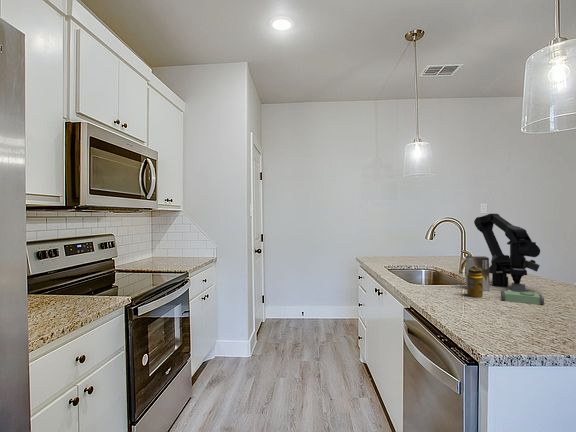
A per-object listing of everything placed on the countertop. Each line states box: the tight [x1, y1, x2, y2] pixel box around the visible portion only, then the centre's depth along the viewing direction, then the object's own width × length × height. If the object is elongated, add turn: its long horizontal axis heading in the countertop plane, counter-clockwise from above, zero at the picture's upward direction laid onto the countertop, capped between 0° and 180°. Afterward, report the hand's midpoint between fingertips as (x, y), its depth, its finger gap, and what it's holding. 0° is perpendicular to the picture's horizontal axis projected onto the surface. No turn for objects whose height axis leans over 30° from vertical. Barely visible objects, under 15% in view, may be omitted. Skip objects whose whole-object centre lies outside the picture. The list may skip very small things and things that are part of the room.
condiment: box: [459, 269, 487, 299], centre depth 149 cm, size 7×8×12 cm
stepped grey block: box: [510, 282, 526, 292], centre depth 154 cm, size 5×6×4 cm
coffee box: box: [465, 255, 491, 292], centre depth 162 cm, size 9×6×16 cm
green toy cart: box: [500, 289, 545, 306], centre depth 142 cm, size 14×12×4 cm
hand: (517, 287), depth 158 cm, fingers closed
